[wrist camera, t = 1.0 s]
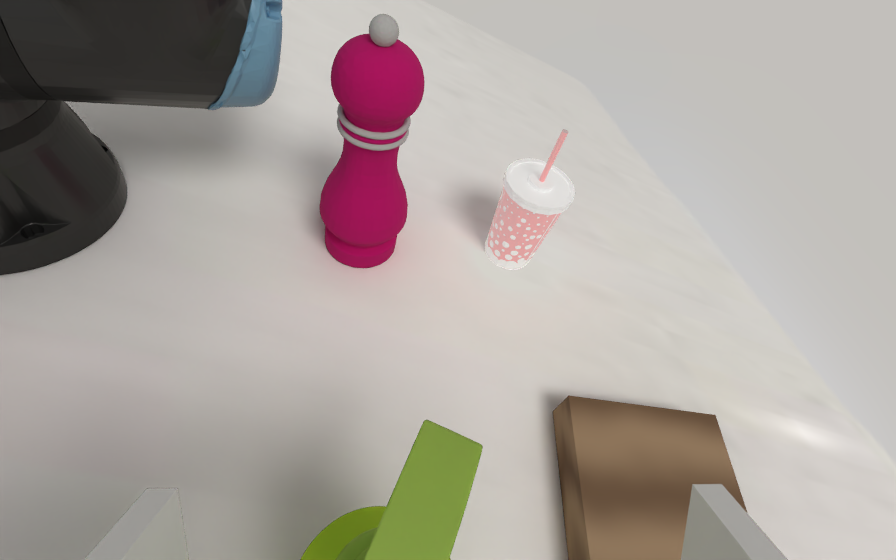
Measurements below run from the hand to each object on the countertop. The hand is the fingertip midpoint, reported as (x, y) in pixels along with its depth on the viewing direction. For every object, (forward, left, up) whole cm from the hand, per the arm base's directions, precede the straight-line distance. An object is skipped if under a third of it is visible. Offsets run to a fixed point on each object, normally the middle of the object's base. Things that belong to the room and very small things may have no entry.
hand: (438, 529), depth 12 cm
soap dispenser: (0, 0, -20) cm, 20 cm away
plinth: (-7, +19, -20) cm, 28 cm away
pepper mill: (-27, -4, -20) cm, 34 cm away
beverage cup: (-29, +10, -20) cm, 36 cm away
